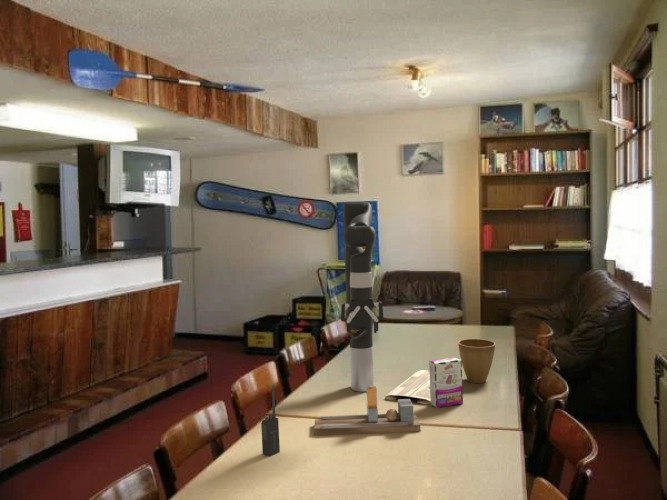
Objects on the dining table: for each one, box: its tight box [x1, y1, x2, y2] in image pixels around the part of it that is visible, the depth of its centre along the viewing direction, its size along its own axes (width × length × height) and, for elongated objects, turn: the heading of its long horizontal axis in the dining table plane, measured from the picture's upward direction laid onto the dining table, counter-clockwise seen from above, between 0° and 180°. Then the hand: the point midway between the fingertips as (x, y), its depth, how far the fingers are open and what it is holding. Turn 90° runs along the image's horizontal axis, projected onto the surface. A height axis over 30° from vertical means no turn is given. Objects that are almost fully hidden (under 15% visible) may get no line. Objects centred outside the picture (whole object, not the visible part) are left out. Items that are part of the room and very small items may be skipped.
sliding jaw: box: [366, 385, 379, 423], centre depth 189 cm, size 7×3×11 cm, turn 2°
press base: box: [314, 398, 421, 436], centre depth 189 cm, size 9×34×8 cm, turn 92°
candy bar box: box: [428, 357, 464, 409], centre depth 210 cm, size 11×5×16 cm, turn 109°
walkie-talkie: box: [260, 385, 281, 457], centre depth 171 cm, size 5×3×20 cm
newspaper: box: [385, 369, 431, 405], centre depth 231 cm, size 37×19×3 cm, turn 153°
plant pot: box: [457, 338, 496, 384], centre depth 238 cm, size 15×15×16 cm
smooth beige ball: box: [385, 408, 398, 421], centre depth 189 cm, size 4×4×4 cm
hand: (362, 333), depth 194 cm, fingers open, 8 cm apart
